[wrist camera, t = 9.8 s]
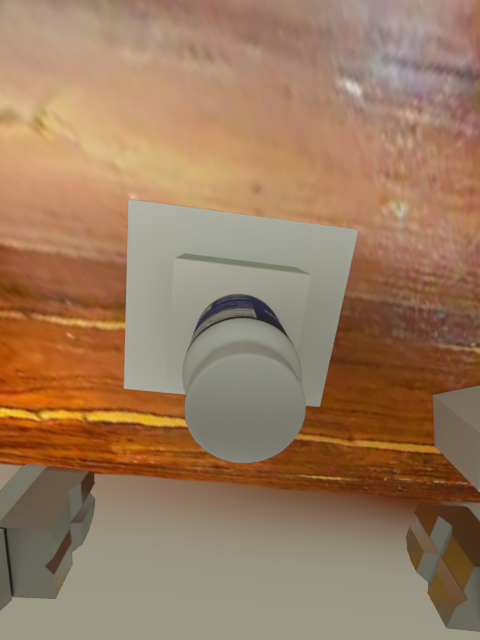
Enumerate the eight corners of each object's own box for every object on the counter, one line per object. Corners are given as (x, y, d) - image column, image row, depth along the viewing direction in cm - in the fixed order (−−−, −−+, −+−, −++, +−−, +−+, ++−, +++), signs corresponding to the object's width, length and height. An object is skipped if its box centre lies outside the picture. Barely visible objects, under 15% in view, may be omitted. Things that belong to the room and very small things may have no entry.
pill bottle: (288, 356, 22) (335, 454, 12) (212, 379, 22) (198, 492, 13) (266, 280, 20) (299, 322, 11) (184, 305, 21) (145, 369, 11)
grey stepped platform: (353, 229, 25) (390, 229, 20) (316, 401, 30) (337, 441, 24) (132, 200, 24) (102, 190, 18) (127, 383, 28) (101, 421, 23)
